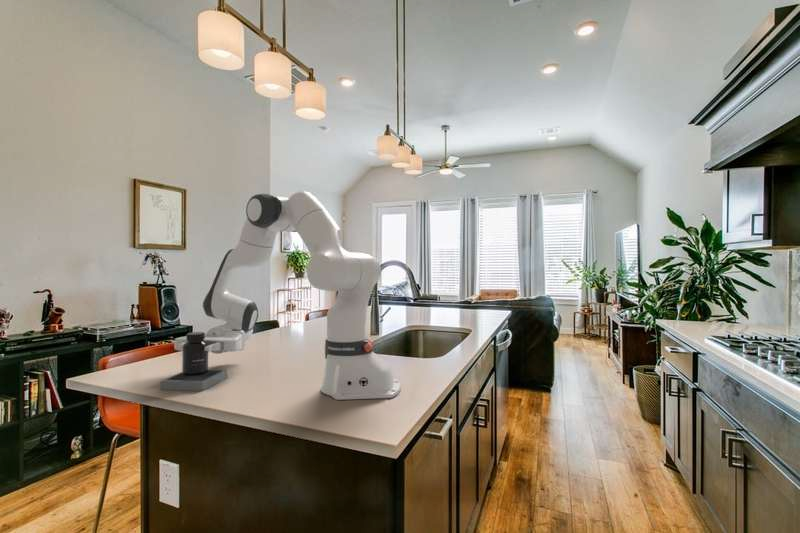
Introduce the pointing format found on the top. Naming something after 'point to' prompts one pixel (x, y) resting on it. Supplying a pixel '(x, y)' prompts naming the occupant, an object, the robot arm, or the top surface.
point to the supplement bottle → (195, 355)
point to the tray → (194, 381)
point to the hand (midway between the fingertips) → (193, 348)
